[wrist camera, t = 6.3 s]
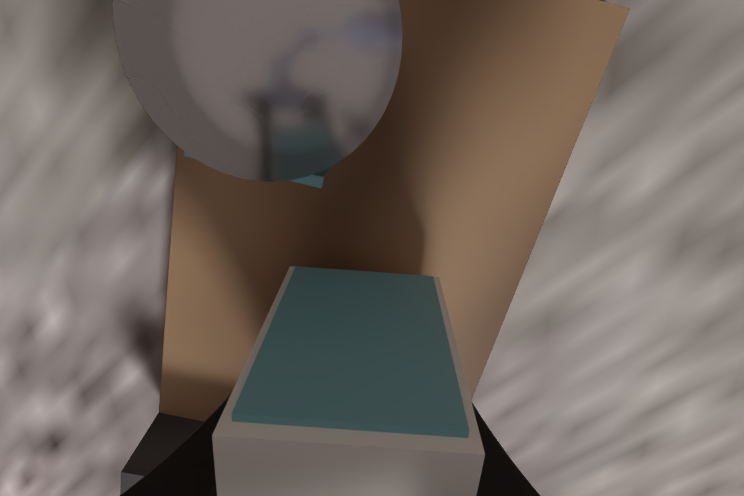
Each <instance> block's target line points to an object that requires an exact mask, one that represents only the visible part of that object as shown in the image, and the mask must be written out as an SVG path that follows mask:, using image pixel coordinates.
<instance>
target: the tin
mask: <svg viewBox="0 0 744 496" xmlns="http://www.w3.org/2000/svg"><path fill="white" fill-rule="evenodd" d="M113 21H114V30H115V36H116V42H117V47H118V51H119V54H120V58H121V61H122V65H123V67H124V70H125V72H126V75H127V77H128V80H129V82H130V85H131V87H132V88H133V90H134V92H135V94H136V96H137V98H138V100H139V101H140V103H141V104H142V106H143V107H144V109H145V110H146V112H147V113H148V115H149V116H150V118H151V119H152V120H153V121H154V122H155V124H156V125H157V126H158V127H159V128H160V129H161V131H162V132H163V133H164V134H165V135H166V136H167V137H168V138H169V139H171V140H172V141H173V142H174V143H175V144H176V145H177V146H178V147H180V148H181V149H182V150H184V156H186V157H190V158H194V159H197V160H198V161H200V162H202V163H203V164H205V165H207V166H209V167H211V168H213V169H216V170H218V171H220V172H223V173H225V174H228V175H232V176H235V177H239V178H243V179H249V180H254V181H269V182H277V181H292V182H296V183H301V184H305V185H309V186H313V187H318V188H322V187H323V185H324V183H325V180H326V178H327V176H328V174H329V172H330V170H331V168H332V166H333V165H335V164H337V163H338V162H340V161H341V160H342V159H344V158H345V157H346V156H348V155H349V154H351V153H352V152H353V151H354V150H355V149H356V148H357V147H358V146H359V145H360V144H361V143H362V142H363V141H364V140H365V139H366V138H367V137H368V135H369V134H370V133H371V132H372V130H373V129H374V128H375V126H376V125H377V123H378V122H379V120H380V118H381V117H382V115H383V113H384V112H385V110H386V107H387V105H388V103H389V101H390V99H391V96H392V94H393V90H394V87H395V84H396V81H397V77H398V73H399V67H400V62H401V55H402V37H403V35H402V19H401V11H400V5H399V0H113Z"/></svg>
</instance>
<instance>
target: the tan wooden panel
mask: <svg viewBox="0 0 744 496" xmlns="http://www.w3.org/2000/svg"><path fill="white" fill-rule="evenodd" d="M399 5H400V11H401V19H402V35H403V37H402V55H401V62H400V67H399V73H398V77H397V81H396V84H395V87H394V90H393V94H392V96H391V99H390V101H389V103H388V105H387V107H386V110H385V112H384V113H383V115H382V117H381V118H380V120H379V122H378V123H377V125H376V126H375V128H374V129H373V130H372V132H371V133H370V134H369V135H368V137H367V138H366V139H365V140H364V141H363V142H362V143H361V144H360V145H359V146H358V147H357V148H356V149H355V150H354V151H353V152H352V153H351V154H349V155H348V156H346V157H345V158H344V159H342V160H341V161H340V162H338V163H337V164H335V165H333V166H332V168H331V170H330V172H329V174H328V176H327V178H326V180H325V183H324V185H323V187H322V188H318V187H313V186H309V185H305V184H301V183H296V182H292V181H277V182H269V181H254V180H249V179H243V178H239V177H235V176H232V175H228V174H225V173H223V172H220V171H218V170H216V169H213V168H211V167H209V166H207V165H205V164H203V163H202V162H200V161H198V160H197V159H194V158H190V157H186V156H184V150H182V149H181V148H180V147H178V146H177V155H176V170H175V184H174V199H173V214H172V228H171V243H170V257H169V272H168V287H167V301H166V316H165V330H164V345H163V359H162V374H161V389H160V403H159V413H158V415H157V416H156V418H155V419H154V421H153V423H152V424H151V426H150V427H149V429H148V431H147V432H146V434H145V435H144V437H143V438H142V440H141V442H140V443H139V445H138V446H137V448H136V449H135V451H134V453H133V454H132V456H131V457H130V459H129V460H128V462H127V464H126V465H125V467H124V468H123V470H122V471H121V493H120V495H121V494H123V493H124V492H125V491H127V490H128V489H129V488H130V487H132V486H133V485H134V484H135V483H137V482H138V481H139V480H140V479H142V478H143V477H144V476H145V475H147V474H148V473H149V472H150V471H151V470H153V469H154V468H155V467H156V466H157V465H158V464H160V463H161V462H162V461H163V460H164V459H165V458H167V457H168V456H169V455H170V454H171V453H172V452H173V451H174V450H175V449H176V448H177V447H178V446H180V445H181V444H182V443H183V442H184V441H185V440H186V439H187V438H188V437H189V436H190V435H191V434H192V433H194V432H195V431H196V430H197V429H198V428H199V427H200V426H201V425H202V424H203V422H204V421H205V420H206V419H207V418H208V417H209V416H210V415H211V414H212V413H213V412H214V411H215V410H216V409H217V408H218V407H219V406H220V405H221V404H222V403H223V402H224V401H225V400H226V398H227V397H228V396H229V395H230V394H231V393H232V391H233V389H234V387H235V385H236V382H237V380H238V378H239V376H240V374H241V372H242V369H243V367H244V365H245V363H246V361H247V359H248V356H249V354H250V352H251V350H252V348H253V345H254V343H255V341H256V339H257V337H258V335H259V332H260V330H261V328H262V326H263V324H264V322H265V319H266V317H267V315H268V313H269V311H270V309H271V306H272V304H273V302H274V300H275V298H276V296H277V293H278V291H279V289H280V287H281V285H282V283H283V280H284V278H285V276H286V274H287V272H288V270H289V267H290V266H294V267H295V266H299V267H313V268H327V269H341V270H355V271H369V272H383V273H397V274H411V275H425V276H435V277H439V279H440V283H441V287H442V291H443V295H444V298H445V302H446V306H447V310H448V314H449V318H450V321H451V325H452V329H453V333H454V337H455V341H456V344H457V348H458V352H459V356H460V360H461V364H462V368H463V371H464V375H465V379H466V383H467V387H468V391H469V394H470V398H471V400H472V397H473V395H474V392H475V390H476V387H477V385H478V382H479V380H480V377H481V375H482V372H483V370H484V368H485V365H486V363H487V360H488V358H489V355H490V353H491V350H492V348H493V345H494V343H495V340H496V338H497V336H498V333H499V331H500V328H501V326H502V323H503V321H504V318H505V316H506V313H507V311H508V308H509V306H510V303H511V301H512V299H513V296H514V294H515V291H516V289H517V286H518V284H519V281H520V279H521V276H522V274H523V271H524V269H525V266H526V264H527V262H528V259H529V257H530V254H531V252H532V249H533V247H534V244H535V242H536V239H537V237H538V234H539V232H540V229H541V227H542V225H543V222H544V220H545V217H546V215H547V212H548V210H549V207H550V205H551V202H552V200H553V197H554V195H555V192H556V190H557V188H558V185H559V183H560V180H561V178H562V175H563V173H564V170H565V168H566V165H567V163H568V160H569V158H570V155H571V153H572V151H573V148H574V146H575V143H576V141H577V138H578V136H579V133H580V131H581V128H582V126H583V123H584V121H585V118H586V116H587V114H588V111H589V109H590V106H591V104H592V101H593V99H594V96H595V94H596V91H597V89H598V86H599V84H600V81H601V79H602V77H603V74H604V72H605V69H606V67H607V64H608V62H609V59H610V57H611V54H612V52H613V49H614V47H615V44H616V42H617V40H618V37H619V35H620V32H621V30H622V27H623V25H624V22H625V20H626V17H627V15H628V12H629V10H630V8H626V7H622V6H619V5H615V4H611V3H608V2H604V1H600V0H399Z"/></svg>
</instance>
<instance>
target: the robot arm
mask: <svg viewBox="0 0 744 496" xmlns="http://www.w3.org/2000/svg"><path fill="white" fill-rule="evenodd" d="M230 395H231V394H230ZM230 395H229V396H228V397H227V398H226V400H225V401H224V402H223V403H222V404H221V405H220V406H219V407H218V408H217V409H216V410H215V411H214V412H213V413H212V414H211V415H210V416H209V417H208V418H207V419H206V420H205V421H204V422H203V424H202V425H201V426H200V427H199V428H198V429H197V430H196V431H195V432H194V433H192V434H191V435H190V436H189V437H188V438H187V439H186V440H185V441H184V442H183V443H182V444H181V445H180V446H178V447H177V448H176V449H175V450H174V451H173V452H172V453H171V454H170V455H169V456H168V457H167V458H165V459H164V460H163V461H162V462H161V463H160V464H158V465H157V466H156V467H155V468H154V469H153V470H151V471H150V472H149V473H148V474H147V475H145V476H144V477H143V478H142V479H140V480H139V481H138V482H137V483H135V484H134V485H133V486H132V487H130V488H129V489H128V490H127V491H125V492H124V493H123V494H121V495H120V496H217V489H216V477H215V465H214V453H213V442H212V434H213V432H214V430H215V428H216V426H217V424H218V421H219V419H220V417H221V415H222V413H223V411H224V408H225V406H226V404H227V402H228V400H229V398H230ZM471 402H472V401H471ZM472 406H473V410H474V414H475V418H476V421H477V425H478V429H479V433H480V437H481V441H482V444H483V448H484V452H485V457H484V462H483V467H482V472H481V476H480V481H479V486H478V490H477V495H476V496H540V495H539V494H538V493H537V491H536V490H535V489H534V488H533V487H532V485H531V484H530V483H529V482H528V480H527V479H526V478H525V477H524V475H523V474H522V473H521V472H520V470H519V469H518V468H517V467H516V465H515V464H514V463H513V461H512V460H511V459H510V457H509V456H508V455H507V453H506V452H505V450H504V449H503V448H502V446H501V445H500V443H499V442H498V441H497V439H496V438H495V437H494V435H493V434H492V432H491V431H490V429H489V428H488V426H487V425H486V423H485V422H484V420H483V419H482V417H481V416H480V414H479V413H478V411H477V409H476V408H475V406H474V405H473V403H472Z"/></svg>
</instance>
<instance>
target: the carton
mask: <svg viewBox="0 0 744 496" xmlns="http://www.w3.org/2000/svg"><path fill="white" fill-rule="evenodd" d="M212 442H213V453H214V465H215V477H216V489H217V496H476V495H477V490H478V486H479V481H480V476H481V472H482V467H483V462H484V457H485V452H484V448H483V444H482V441H481V437H480V433H479V429H478V425H477V421H476V418H475V414H474V410H473V406H472V402H471V398H470V394H469V391H468V387H467V383H466V379H465V375H464V371H463V368H462V364H461V360H460V356H459V352H458V348H457V344H456V341H455V337H454V333H453V329H452V325H451V321H450V318H449V314H448V310H447V306H446V302H445V298H444V295H443V291H442V287H441V283H440V279H439V277H435V276H425V275H411V274H397V273H383V272H369V271H355V270H341V269H327V268H313V267H299V266H295V267H294V266H290V267H289V270H288V272H287V274H286V276H285V278H284V280H283V283H282V285H281V287H280V289H279V291H278V293H277V296H276V298H275V300H274V302H273V304H272V306H271V309H270V311H269V313H268V315H267V317H266V319H265V322H264V324H263V326H262V328H261V330H260V332H259V335H258V337H257V339H256V341H255V343H254V345H253V348H252V350H251V352H250V354H249V356H248V359H247V361H246V363H245V365H244V367H243V369H242V372H241V374H240V376H239V378H238V380H237V382H236V385H235V387H234V389H233V391H232V393H231V395H230V398H229V400H228V402H227V404H226V406H225V408H224V411H223V413H222V415H221V417H220V419H219V421H218V424H217V426H216V428H215V430H214V432H213V434H212Z"/></svg>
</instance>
